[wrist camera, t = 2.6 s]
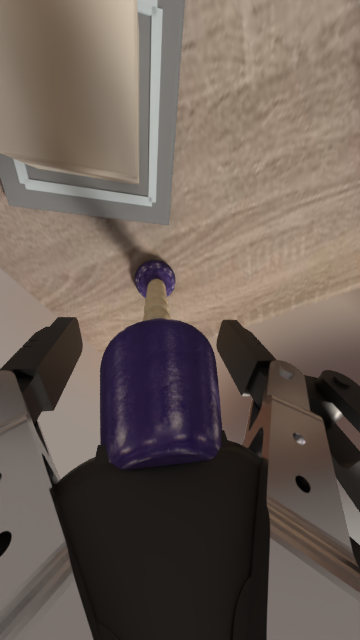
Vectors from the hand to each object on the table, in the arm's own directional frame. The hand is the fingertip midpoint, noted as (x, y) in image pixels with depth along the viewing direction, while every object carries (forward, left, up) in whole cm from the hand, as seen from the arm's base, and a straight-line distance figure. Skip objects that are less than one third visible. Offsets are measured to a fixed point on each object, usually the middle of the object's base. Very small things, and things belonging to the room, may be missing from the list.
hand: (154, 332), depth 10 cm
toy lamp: (0, 0, -10) cm, 10 cm away
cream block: (+5, -11, -9) cm, 15 cm away
